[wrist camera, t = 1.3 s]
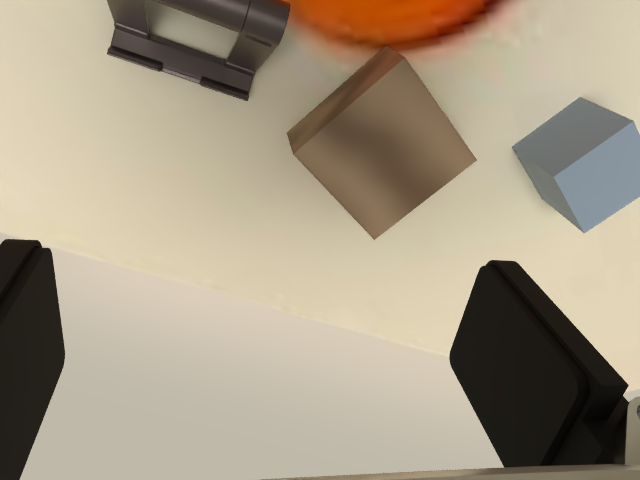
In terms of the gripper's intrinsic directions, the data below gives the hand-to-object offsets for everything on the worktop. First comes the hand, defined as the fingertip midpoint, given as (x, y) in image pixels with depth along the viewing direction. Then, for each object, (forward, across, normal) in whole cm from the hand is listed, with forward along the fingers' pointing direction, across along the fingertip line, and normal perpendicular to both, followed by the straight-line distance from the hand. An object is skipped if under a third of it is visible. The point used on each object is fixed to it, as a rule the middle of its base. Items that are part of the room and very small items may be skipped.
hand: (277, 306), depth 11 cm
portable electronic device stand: (+26, +3, -3) cm, 27 cm away
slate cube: (+26, -25, +4) cm, 36 cm away
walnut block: (+26, -10, +4) cm, 28 cm away
